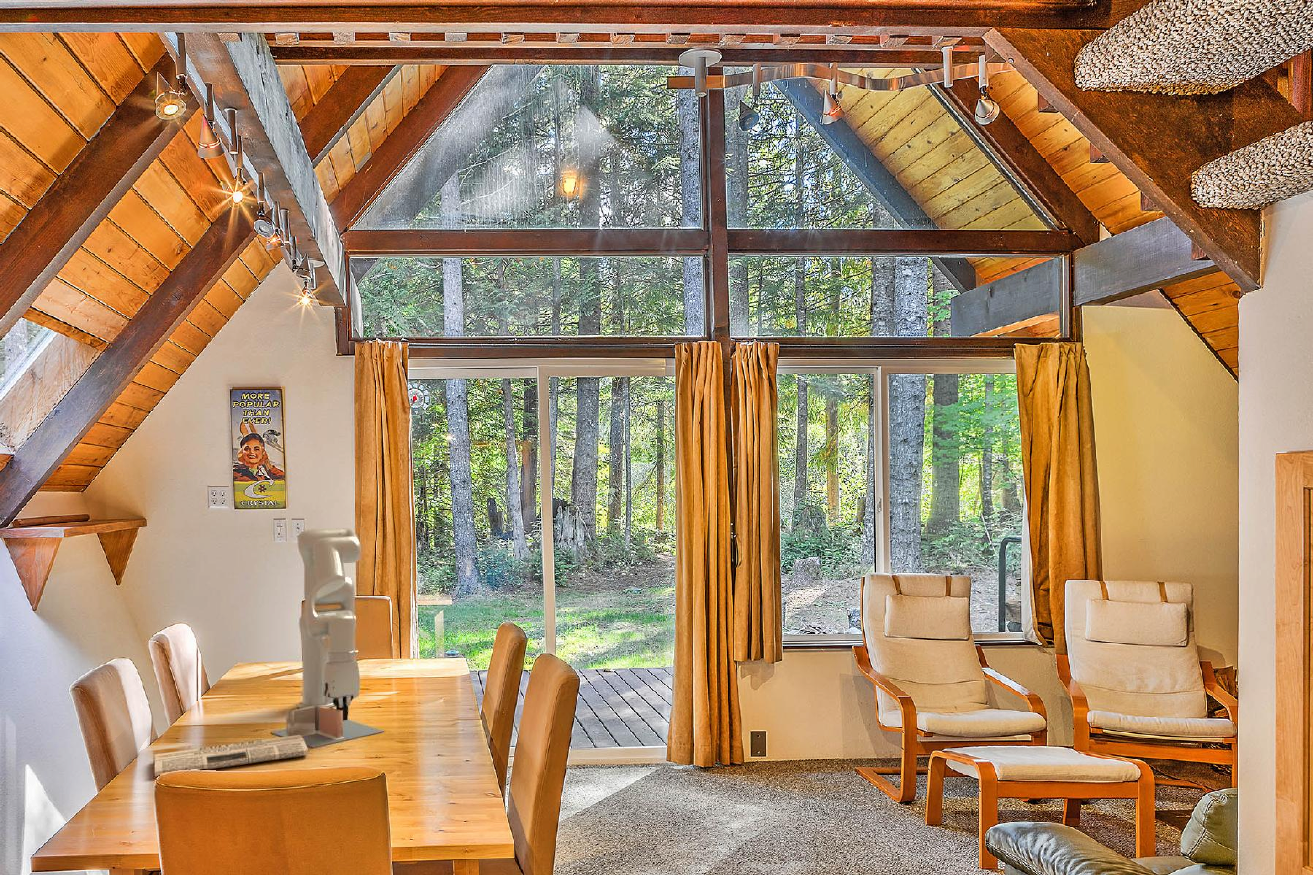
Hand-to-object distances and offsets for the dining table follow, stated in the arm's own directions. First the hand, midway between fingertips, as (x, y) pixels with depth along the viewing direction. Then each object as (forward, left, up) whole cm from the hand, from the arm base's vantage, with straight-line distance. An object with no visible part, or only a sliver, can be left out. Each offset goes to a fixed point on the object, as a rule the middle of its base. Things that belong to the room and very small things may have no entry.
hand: (342, 719), depth 294 cm
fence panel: (-2, -3, -3) cm, 5 cm away
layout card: (-5, -2, -4) cm, 7 cm away
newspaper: (+1, -33, -4) cm, 33 cm away
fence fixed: (-7, -9, -4) cm, 12 cm away
